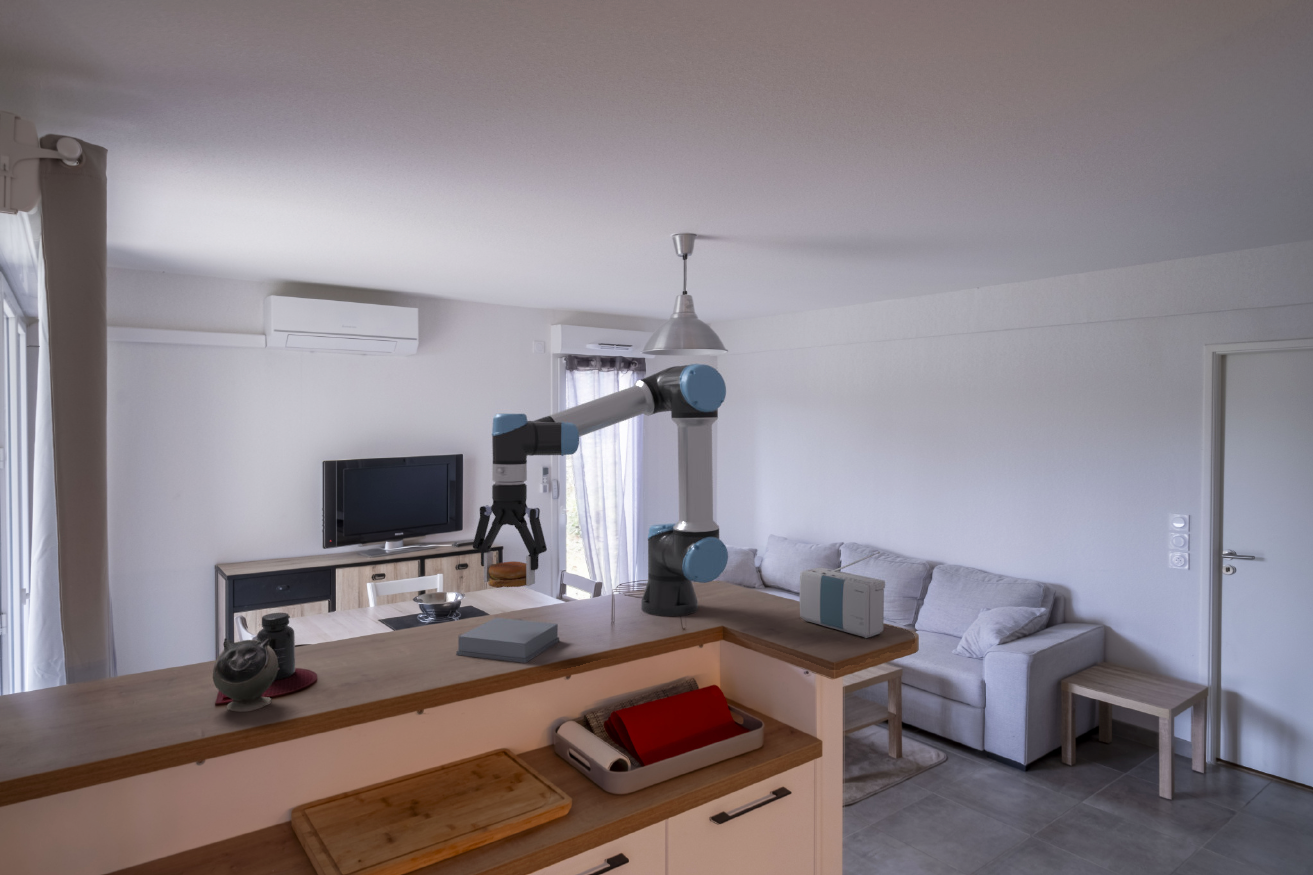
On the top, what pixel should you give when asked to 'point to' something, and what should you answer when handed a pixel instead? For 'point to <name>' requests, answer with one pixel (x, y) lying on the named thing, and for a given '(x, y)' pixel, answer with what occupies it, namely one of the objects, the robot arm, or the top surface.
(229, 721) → the top surface
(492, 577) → the burger
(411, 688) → the top surface
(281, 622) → the supplement bottle
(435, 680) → the top surface
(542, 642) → the stacking base
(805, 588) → the stereo radio cassette player
